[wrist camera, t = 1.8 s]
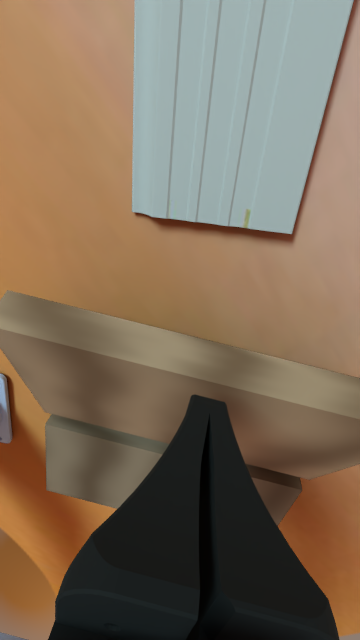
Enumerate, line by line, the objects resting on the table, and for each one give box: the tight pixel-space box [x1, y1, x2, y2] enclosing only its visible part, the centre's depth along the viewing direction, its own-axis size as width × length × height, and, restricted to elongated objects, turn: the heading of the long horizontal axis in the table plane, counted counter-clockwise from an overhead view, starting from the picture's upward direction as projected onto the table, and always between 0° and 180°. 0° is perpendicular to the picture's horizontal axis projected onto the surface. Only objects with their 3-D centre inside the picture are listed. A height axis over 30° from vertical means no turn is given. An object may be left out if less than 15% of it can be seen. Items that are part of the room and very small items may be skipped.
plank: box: [0, 290, 360, 480], centre depth 19 cm, size 20×12×2 cm, turn 78°
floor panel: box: [45, 414, 302, 526], centre depth 27 cm, size 20×10×2 cm, turn 78°
